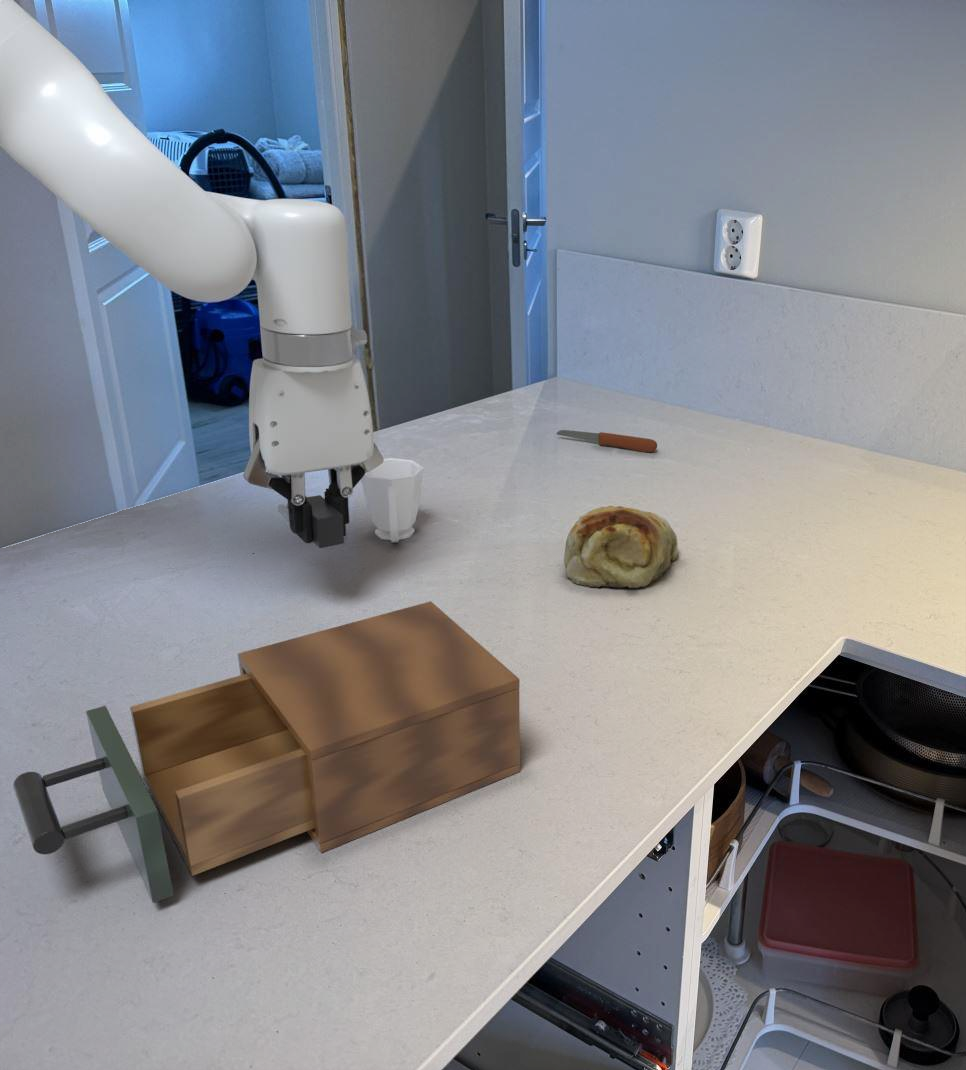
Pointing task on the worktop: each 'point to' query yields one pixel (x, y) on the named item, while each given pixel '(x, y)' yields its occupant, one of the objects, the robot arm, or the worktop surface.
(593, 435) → the kitchen knife
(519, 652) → the worktop surface
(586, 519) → the pastry
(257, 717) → the drawer
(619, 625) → the worktop surface
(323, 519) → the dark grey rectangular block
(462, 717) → the cabinet
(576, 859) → the worktop surface
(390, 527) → the cup
